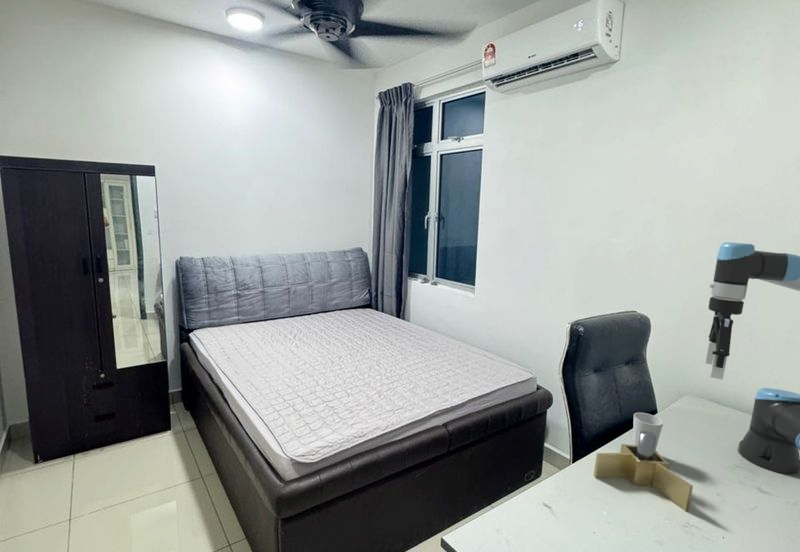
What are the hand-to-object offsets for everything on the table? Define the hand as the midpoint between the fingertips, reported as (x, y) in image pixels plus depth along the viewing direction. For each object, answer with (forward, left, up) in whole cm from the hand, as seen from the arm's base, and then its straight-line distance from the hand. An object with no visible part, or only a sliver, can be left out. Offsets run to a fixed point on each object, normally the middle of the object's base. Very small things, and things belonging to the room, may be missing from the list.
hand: (713, 370), depth 120 cm
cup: (+11, -8, -32) cm, 35 cm away
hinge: (+23, +9, -32) cm, 40 cm away
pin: (+18, +4, -32) cm, 37 cm away
